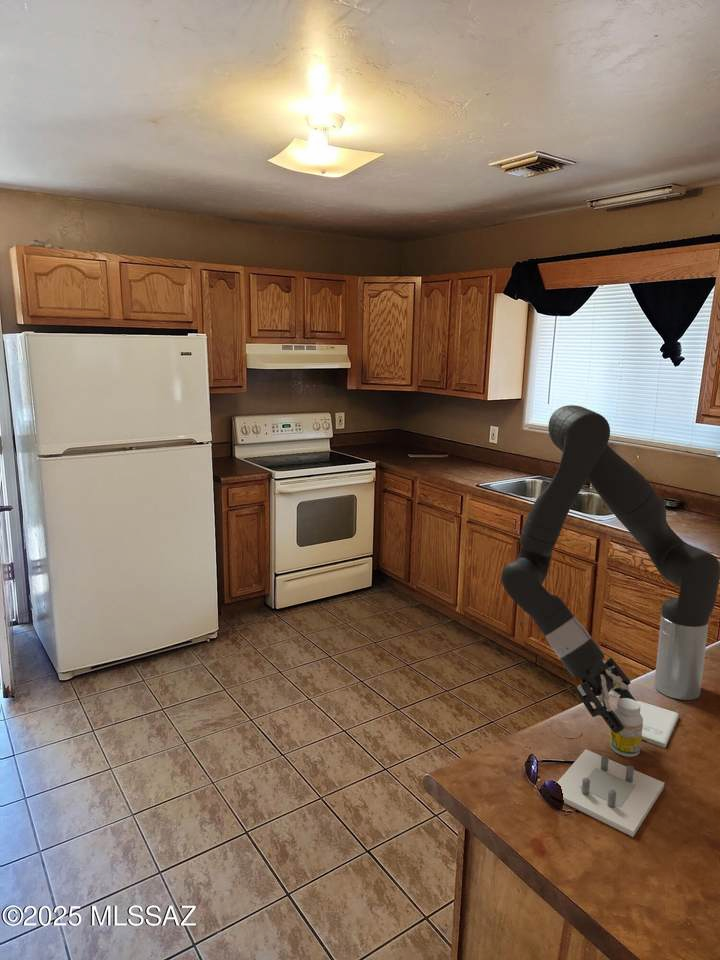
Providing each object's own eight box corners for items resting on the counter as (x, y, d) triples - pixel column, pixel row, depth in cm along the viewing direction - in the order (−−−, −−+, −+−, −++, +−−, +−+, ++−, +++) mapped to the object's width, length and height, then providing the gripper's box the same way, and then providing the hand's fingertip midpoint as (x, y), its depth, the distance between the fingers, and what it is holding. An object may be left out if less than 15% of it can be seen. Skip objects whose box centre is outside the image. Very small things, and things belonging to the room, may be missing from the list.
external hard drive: (678, 720, 130) (664, 750, 120) (636, 707, 135) (620, 735, 125) (679, 713, 130) (665, 743, 120) (637, 700, 134) (620, 728, 125)
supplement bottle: (640, 760, 117) (645, 714, 115) (609, 754, 118) (613, 708, 116) (639, 743, 121) (643, 699, 119) (609, 737, 123) (613, 693, 121)
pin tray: (585, 753, 119) (586, 737, 118) (663, 787, 109) (665, 770, 109) (549, 795, 108) (550, 777, 107) (633, 837, 98) (635, 817, 98)
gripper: (572, 650, 116) (630, 730, 111) (602, 625, 127) (657, 697, 121) (544, 667, 121) (598, 745, 116) (575, 642, 131) (626, 712, 126)
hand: (628, 720), depth 119 cm, fingers open, 8 cm apart
